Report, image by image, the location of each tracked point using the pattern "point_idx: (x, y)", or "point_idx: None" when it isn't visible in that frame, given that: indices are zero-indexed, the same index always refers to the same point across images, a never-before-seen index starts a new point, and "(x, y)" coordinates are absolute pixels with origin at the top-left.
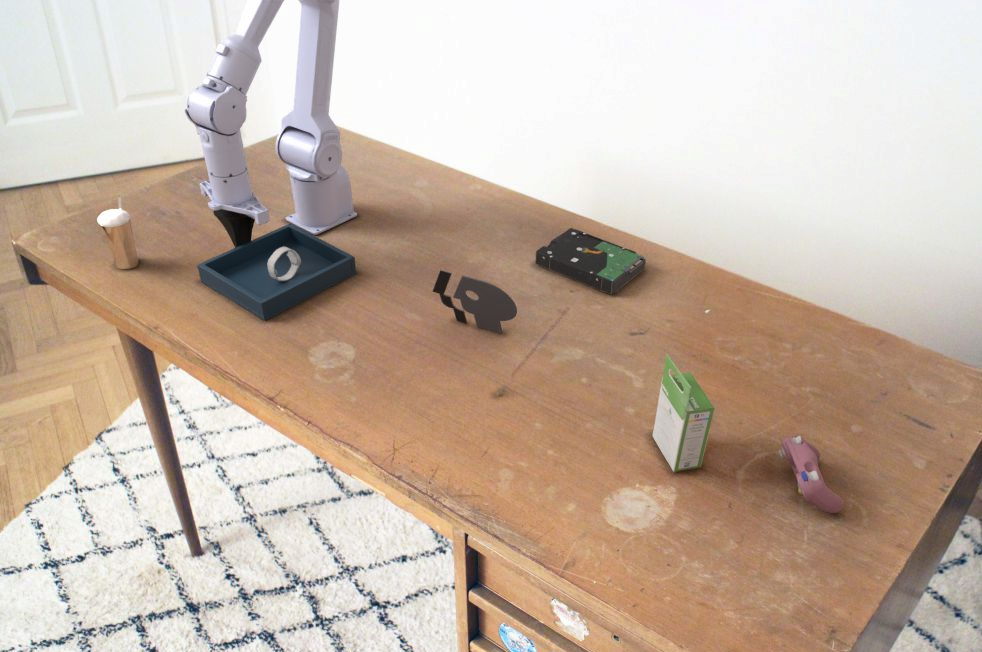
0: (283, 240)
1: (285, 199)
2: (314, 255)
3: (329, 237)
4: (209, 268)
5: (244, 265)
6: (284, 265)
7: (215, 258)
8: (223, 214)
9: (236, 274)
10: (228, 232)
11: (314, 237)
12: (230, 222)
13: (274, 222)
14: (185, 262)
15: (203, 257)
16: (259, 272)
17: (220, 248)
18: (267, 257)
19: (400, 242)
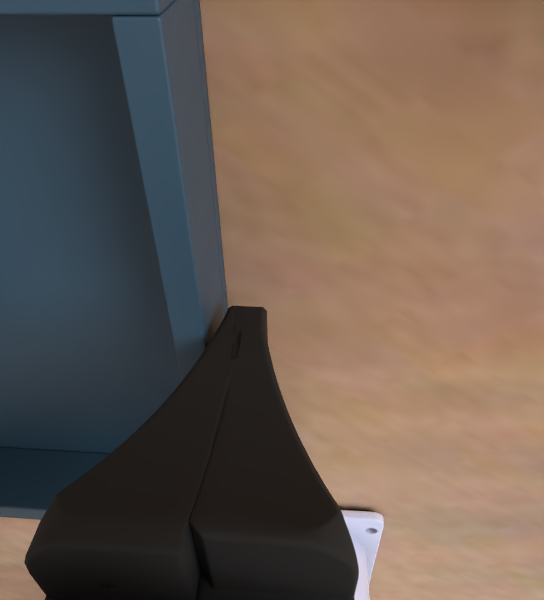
0: None
1: (498, 565)
2: (53, 440)
3: None
4: (12, 4)
5: (153, 247)
6: (40, 349)
7: (149, 149)
8: (164, 567)
9: (87, 162)
10: (259, 393)
11: None
12: (48, 510)
13: (410, 490)
14: (535, 35)
15: (465, 162)
16: (34, 252)
17: (451, 278)
18: (154, 349)
19: (17, 557)
